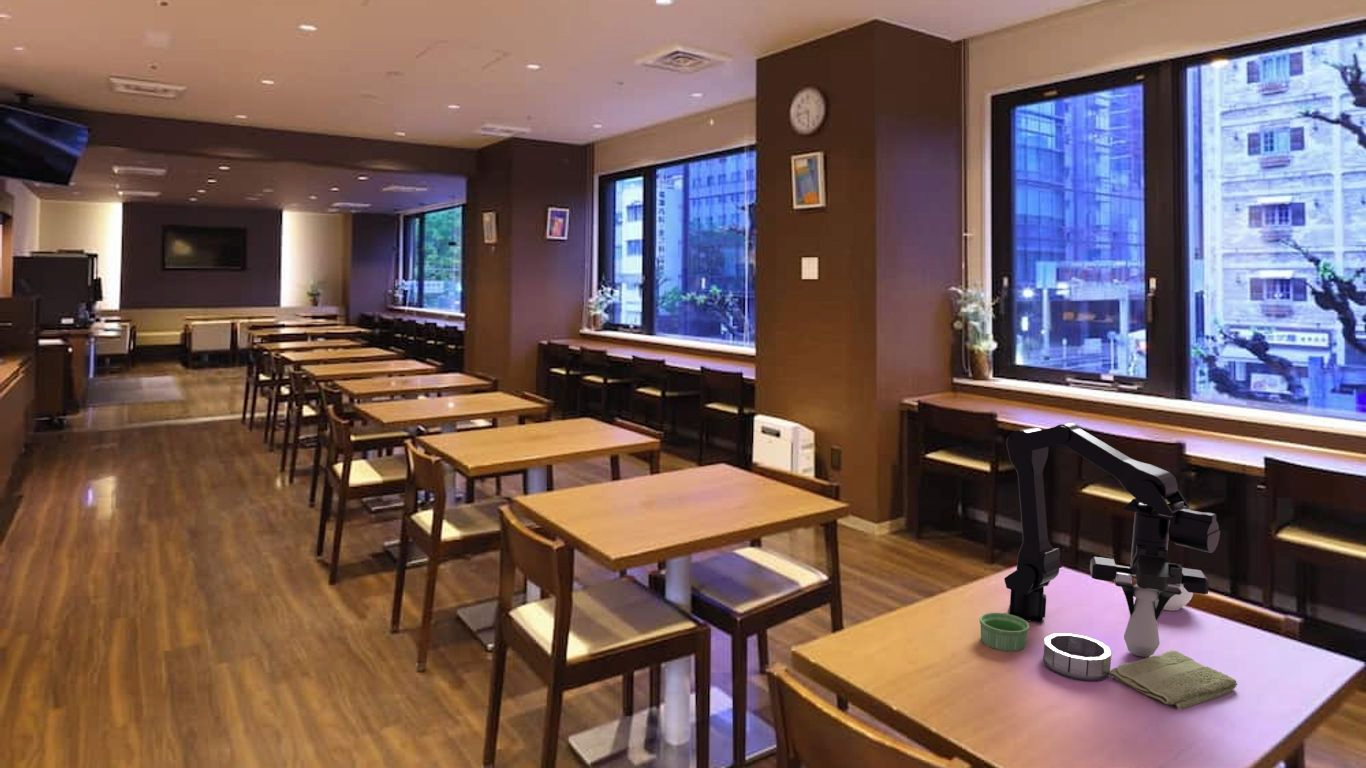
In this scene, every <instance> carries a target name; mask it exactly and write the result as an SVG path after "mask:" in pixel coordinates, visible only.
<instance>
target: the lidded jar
mask: <svg viewBox="0 0 1366 768" xmlns="http://www.w3.org/2000/svg"><path fill="white" fill-rule="evenodd" d="M1180 590H1181V592H1182V593H1181V594H1180V595H1174V596H1172V597H1171V598H1170V599H1169V600H1168V602H1167V603H1166V605H1165V606H1164V608H1163V610H1165V611H1170V612H1171V611H1175V610H1176V611H1179V609H1180V608H1181V609H1182V608H1183V607H1185V606H1186V605H1188V604H1189V602H1190V601H1191V600H1192V598H1193V595H1194V593H1191V592H1188V591H1187V590H1186V589H1185V588H1184V587H1183V584H1181V586H1180ZM1181 609H1180V610H1181ZM1163 610H1162V611H1163ZM1176 611H1175V612H1176Z"/></svg>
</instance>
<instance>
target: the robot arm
mask: <svg viewBox="0 0 1366 768" xmlns="http://www.w3.org/2000/svg"><path fill="white" fill-rule="evenodd" d="M1059 445H1062V446H1064V447H1065V448H1068V449H1069V450H1071V451H1072V452H1073V453H1075V454H1077V455H1078V456H1080V457H1082V458H1083V459H1085V460H1087V461H1088V462H1090V463H1091V464H1093V465H1095V466H1096V467H1098V468H1100V469H1102V470H1103V471H1105V472H1106V473H1108V474H1109V475H1111V476H1112V477H1114V478H1115V479H1116V480H1117V481H1118V482H1119V483H1120V484H1121V486H1122V487H1123V488H1124V490H1125V491H1126V492H1128V494H1130V495H1131V496H1132V497H1134V498H1132V500H1131V501H1130V502H1128V503H1127V504H1125V505H1123V506H1122V510H1123V511H1128V512H1131V513H1134V519H1133V520H1134V521H1133V531H1132V542H1131V551H1130V552H1131V554H1130V566H1128V565H1127V566H1126V565H1119V564H1116V562H1115V559H1114V558H1107V557H1101V556H1099V557H1098V556H1093V557H1092V558H1090V562H1089V563H1090V565H1089V571H1090V577H1091V579H1094V580H1098V581H1105V582H1111V581H1114V585H1115V586H1116V587H1120V588H1121V589H1122V591H1123V593H1124V594H1123V595H1124V597H1125V600H1126V604H1127V608H1128V612H1129V615H1130V616H1131V615H1132V614H1133V612H1134V603H1135V599H1134V598H1135V597H1134V596H1133V588H1134V584H1133V581H1132V580H1133V579H1136V584H1137V585H1138V586H1139V587H1140V588H1143V589H1147V588H1149V589H1156V590H1159V598H1158V599H1157V600H1156V601H1155V618H1156V621H1157V622H1158V619H1159V618H1160V615H1161V613H1162V612H1163V608H1164V606H1165V605H1166V603H1167V602H1168V600H1169V599H1170V598H1171V597H1172V596H1174V595H1180V594H1181V593H1182V592H1181V590H1180V586H1181V584H1183V587H1184V588H1185V589H1186V590H1187V591H1188V592H1191V593H1193V594H1199V595H1208V594H1209V584H1210V583H1209V580H1208V577H1207V576H1206V575H1205V573H1204V572H1203V571H1202V570H1201V569H1196V568H1195V569H1193V568H1188V567H1187V568H1186V567H1183V566H1182V564H1181V563H1179V564H1178V563H1171V562H1169V561H1168V550H1169V549H1168V546H1169V540H1170V541H1172V542H1173V544H1174V545H1175V546H1180V547H1184V548H1189V549H1193V550H1198V551H1201V552H1206V553H1208V554H1209V553H1210V554H1213V553H1214V552H1215V551H1216V549H1217V547H1218V544H1219V541H1220V536H1221V530H1220V527H1219V523H1218V520H1217V514H1216V513H1212V512H1203V511H1202V512H1201V511H1197V510H1193V509H1190V505H1189V504H1188V502H1187V500H1186V499H1185V498H1184V496H1183V495H1182V492H1181V491H1180V489H1178V482H1177V478H1176V477H1175V475H1173V474H1172V473H1171V472H1170V471H1167V470H1165V469H1162V468H1160V467H1158V466H1156V465H1153V464H1150V463H1146V462H1142V461H1139V460H1136V459H1134V458H1131V457H1129V456H1128V455H1126V454H1124V453H1122V452H1121V451H1119V450H1118V449H1116V448H1114V447H1112V446H1110V445H1109V444H1108V443H1105V442H1104V441H1102V440H1101V439H1098V437H1095V436H1094V435H1092V434H1091V433H1089V432H1087V431H1085V430H1083V429H1082V428H1081V427H1080V426H1078V425H1077V424H1076V423H1073V422H1066V423H1062V424H1057V425H1056V426H1054V427H1049V428H1044V429H1041V428H1039V427H1029V428H1023V429H1020V430H1018V429H1017V430H1014V431H1013V432H1011V433H1010V435H1008V436H1007V439H1006V447H1007V448H1006V449H1007V452H1008V457H1009V460H1010V462H1011V464H1012V466H1013V468H1014V469H1015V471H1016V473H1017V482H1018V494H1019V504H1020V505H1019V506H1020V519H1021V521H1020V522H1021V529H1022V530H1021V531H1022V544H1021V546H1020V548H1019V551H1018V555H1017V561H1016V569H1015V571H1013V572H1011V573H1010V574H1008V575H1007V576H1005V577H1004V578H1003V579H1004V583H1005V587H1006V589H1009V590H1010V597H1009V598H1010V600H1009V605H1008V614H1010V615H1014V616H1017V617H1020V618H1022V619H1024V620H1025V621H1026V622H1033V623H1039V624H1042V623H1043V620H1044V619H1043V618H1046V610H1047V609H1046V608H1047V595H1046V594H1045V589H1044V587H1048V586H1049V585H1050V582H1051V581H1052V580H1055V578H1056V577H1058V575H1059V574H1060V569H1062V567H1063V566H1062V564H1061V559H1060V558H1061V550H1060V548H1059V547H1058V548H1057V547H1056V548H1053V546H1052V544H1051V542H1050V541H1049V538H1048V535H1049V534H1048V524H1047V522H1048V521H1047V511H1046V500H1045V499H1046V498H1045V497H1046V496H1045V486H1044V475H1043V474H1044V473H1043V472H1044V468H1045V466H1046V464H1047V463H1046V462H1047V460H1048V457H1049V450H1050V449H1049V447H1054V446H1059Z"/></svg>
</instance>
